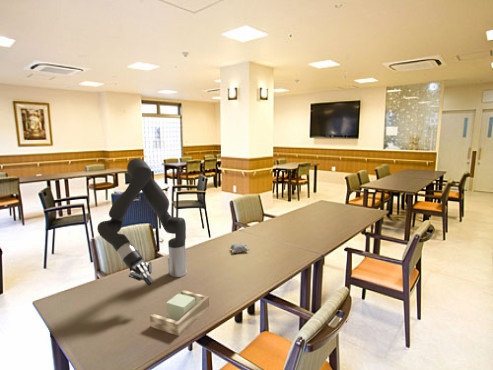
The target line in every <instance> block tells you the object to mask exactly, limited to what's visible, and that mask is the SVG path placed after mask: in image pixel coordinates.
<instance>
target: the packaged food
mask: <svg viewBox="0 0 493 370" xmlns="http://www.w3.org/2000/svg"><path fill="white" fill-rule="evenodd" d="M229 249H230V250H231V253H233V254H234V253H235V254H237V253H238V254H239V253H244V252H248V251H250V248H249V247H248V246H247V245H246V244H245V243H235V244H231V246H230V247H229Z"/></svg>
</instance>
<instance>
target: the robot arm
mask: <svg viewBox="0 0 493 370" xmlns="http://www.w3.org/2000/svg"><path fill="white" fill-rule="evenodd" d="M126 171H127V174H128V175H129V177H130V181H129V184H128V186H127V188H125V190H124V191H123V192H122V193H120V194H119V195H118V196H117V197H116V199H115V200H114V202H113V203H112V204H111V207H110V209H109V210H108V216H109V217H110V219H108V220H103V221H100V222H99V223H98V225H97V229H96V230H97V233H98V235H99V236H100V237H101V238H102V239H104V241H106V242H107V243H109V244H110V245H111V246H112V248H113V249H114V250H115V251H116V253H117V255H118V256H119V258H120V259H121V261H122V262H123V263H124V265H125V266H126V267H127V268H129V274H128V277H129V278H131V279H134V280H137V281H144V282H145V284H146V286H148V287H151V286H152V285H153V284H154V283H155V282H154V279H153V278H152V277H151V274H152V273H153V271H152V268H153V267H152V262H151V261H149V262H146V260H144V259H143V256H142V254H140V252H139V250H138V249H137V248H136V247H135V245H134V244H133V243H132V242H131V241H130V239H128V238H127V235H125V234H123V233H119V232H120V231H121V230H122V227H123V224H124V217H126V215H127V212H128V210H129V209H130V207H131V205H132V204H133V202H134V200H135V199H136V198H137V196H138V195H139V194H140V192H141V191H142V194H143V196H144V199H145V200H146V201H147V204H148V205H149V206H150V208H151V209H152V210H153V212H154V214H155V215H156V217H157V218H158V220H159V222H160V223H161V226H162V228H163V230H164V231H165V232H166V233H168V234H174V235H175V237H172V238H171V239H169V240H168V241H167V243H168V244H167V245H168V258H167V265H168V267H167V268H168V275H170V277H172V278H181V277H184V276H186V275H187V254H186V238H187V237H186V236H187V232H186V231H187V225H186V220H185V219H184V218H183V217H178V216H171V214H170V213H169V207H170V200H169V199H168V196H167V195H166V193H165V192H164V190H163V189H162V188H161V186H160V185H159V184H158V183H157V181H156V180H155V179H154V178H153V176H152V175H153V171H152V169H151V167H150V166H149V165H148V163H147V162H146V161H145V160H143V159H141V158H132V159H131V160H130V161H129V162H128V163H127V167H126Z"/></svg>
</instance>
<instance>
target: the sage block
mask: <svg viewBox="0 0 493 370" xmlns="http://www.w3.org/2000/svg"><path fill="white" fill-rule="evenodd" d="M194 306H196V305H195V298H194V297H190V296H186V295H182V294H181V293H177V294H176V295H175V296H173V297H172V298H170V299H169V300H167V302H166V313H167V315H166V316H167V317H166V318H168V319H172V320H175V321H179V320H180V319H181V318H182V317H183V316H184V315H185V314H187V313H188V312H189V311H190V310H191V309H192V308H193V307H194Z"/></svg>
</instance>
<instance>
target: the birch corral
mask: <svg viewBox="0 0 493 370" xmlns="http://www.w3.org/2000/svg"><path fill="white" fill-rule="evenodd" d="M180 294H182V295H186V296H190V297H194V298H195V306H194V307H193V308H192V309H191V310H190V311H189V312H188V313H187V314H185V315H184V316H183V317H182V318H181V319H180V320H179V321H175V320H172V319H168V318H167V317H165V316H162V315H158V314H155V313H151V314H150V315H149V320H150V321H149V322H150V327H151V328H154V329H155V330H156V329H157V330H159V331H162V332H166V333H169V334H172V335H175V336H176V337H177V336H178V337H180V336H181V335H182V334H183V333H185V331H186V330H188V328H189V327H190V326H191V325H192V324H193V323H194V322H195V321H196V320H198V319H199V318H200V317H201V315H202V314H204V312H206V311H207V310H208V309H209V307H210V297H209V296H208V295H203V294H200V293H195V292H191V291H188V290H184V289H182V291H180Z"/></svg>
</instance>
